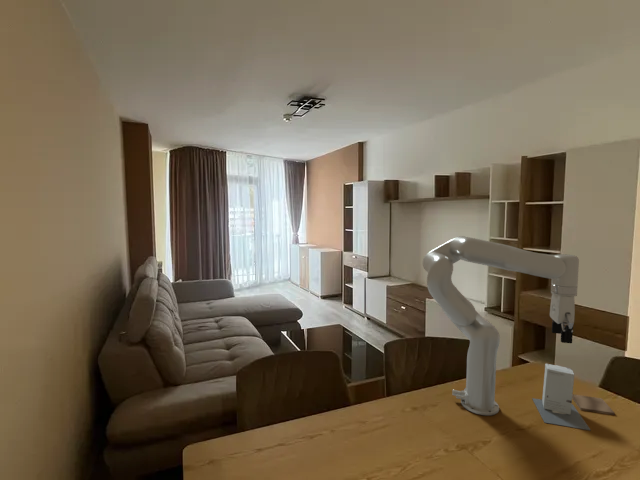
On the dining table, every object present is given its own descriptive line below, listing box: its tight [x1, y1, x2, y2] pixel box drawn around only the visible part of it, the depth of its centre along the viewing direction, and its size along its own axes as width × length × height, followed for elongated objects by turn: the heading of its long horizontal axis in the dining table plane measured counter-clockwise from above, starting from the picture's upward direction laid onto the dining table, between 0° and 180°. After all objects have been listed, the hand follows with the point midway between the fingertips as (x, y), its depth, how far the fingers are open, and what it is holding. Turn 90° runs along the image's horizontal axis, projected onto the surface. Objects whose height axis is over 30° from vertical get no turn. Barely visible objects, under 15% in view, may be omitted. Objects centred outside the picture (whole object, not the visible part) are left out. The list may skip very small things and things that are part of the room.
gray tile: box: [532, 397, 592, 431], centre depth 122 cm, size 13×16×1 cm
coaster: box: [572, 393, 616, 416], centre depth 128 cm, size 10×10×1 cm
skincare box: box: [541, 363, 575, 415], centre depth 125 cm, size 8×6×15 cm
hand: (561, 337), depth 123 cm, fingers open, 9 cm apart
